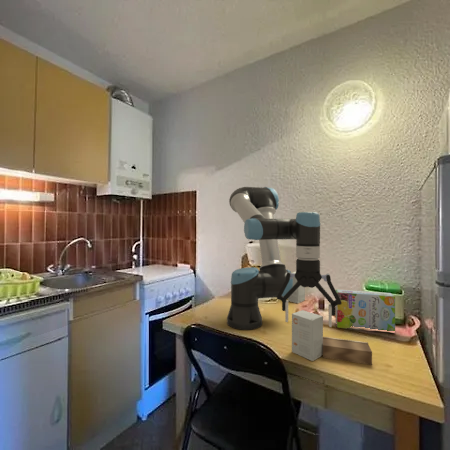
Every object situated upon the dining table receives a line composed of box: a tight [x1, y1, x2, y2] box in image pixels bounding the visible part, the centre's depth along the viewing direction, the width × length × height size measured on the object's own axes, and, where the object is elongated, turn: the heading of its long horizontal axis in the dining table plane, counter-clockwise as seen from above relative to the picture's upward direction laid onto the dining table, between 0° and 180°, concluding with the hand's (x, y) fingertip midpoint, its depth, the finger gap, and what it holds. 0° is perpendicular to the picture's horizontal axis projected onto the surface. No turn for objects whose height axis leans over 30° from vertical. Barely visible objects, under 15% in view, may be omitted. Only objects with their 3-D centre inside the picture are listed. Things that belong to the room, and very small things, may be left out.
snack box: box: [335, 289, 396, 332], centre depth 108 cm, size 21×6×15 cm, turn 73°
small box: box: [291, 309, 324, 362], centre depth 87 cm, size 8×6×13 cm
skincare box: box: [287, 270, 306, 304], centre depth 145 cm, size 8×7×16 cm
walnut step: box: [322, 336, 373, 366], centre depth 86 cm, size 14×6×4 cm, turn 72°
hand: (307, 323), depth 87 cm, fingers open, 13 cm apart
